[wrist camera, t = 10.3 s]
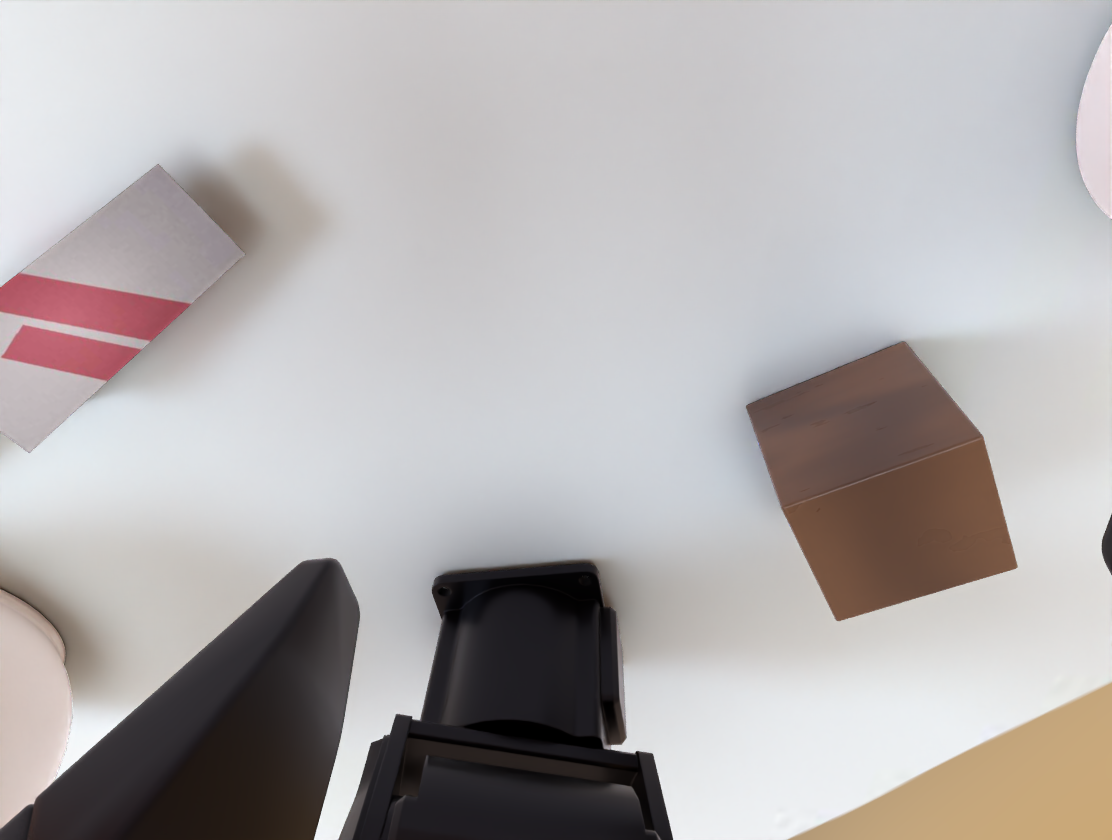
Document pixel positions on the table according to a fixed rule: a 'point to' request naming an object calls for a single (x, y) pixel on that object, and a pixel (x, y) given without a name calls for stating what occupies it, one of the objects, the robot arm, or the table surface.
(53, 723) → the lidded bowl
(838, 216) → the table surface
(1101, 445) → the table surface
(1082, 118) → the jar
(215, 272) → the garden trowel
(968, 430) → the toy block
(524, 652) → the robot arm
